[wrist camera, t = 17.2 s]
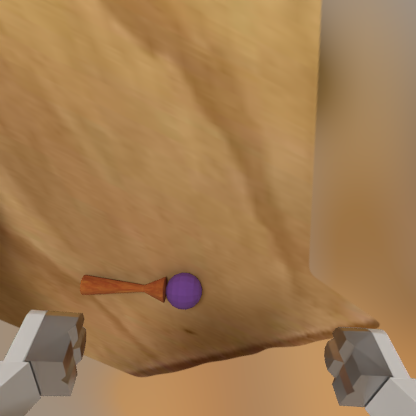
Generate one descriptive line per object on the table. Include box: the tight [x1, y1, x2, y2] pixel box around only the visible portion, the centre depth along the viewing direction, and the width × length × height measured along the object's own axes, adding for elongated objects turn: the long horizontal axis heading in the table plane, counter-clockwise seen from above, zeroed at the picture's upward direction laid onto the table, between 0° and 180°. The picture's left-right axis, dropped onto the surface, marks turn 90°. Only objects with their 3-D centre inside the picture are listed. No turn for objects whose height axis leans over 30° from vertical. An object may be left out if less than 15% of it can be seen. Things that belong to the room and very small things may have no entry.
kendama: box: [80, 273, 202, 309], centre depth 56 cm, size 6×6×20 cm
